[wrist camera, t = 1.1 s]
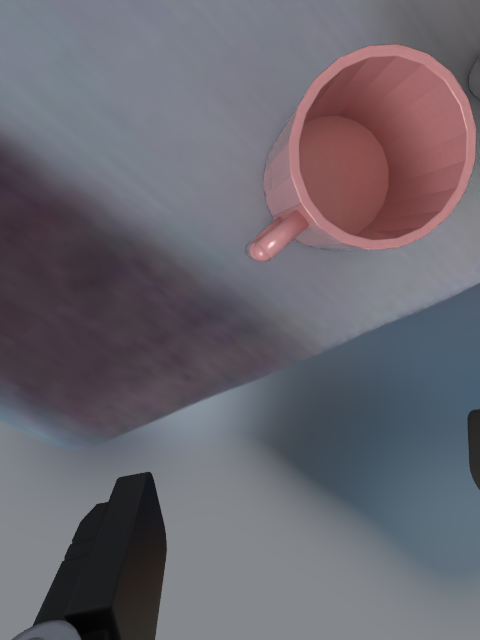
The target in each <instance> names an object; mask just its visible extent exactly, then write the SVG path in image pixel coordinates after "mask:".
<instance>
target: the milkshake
mask: <svg viewBox="0 0 480 640" xmlns="http://www.w3.org/2000/svg"><path fill="white" fill-rule="evenodd" d="M469 89H470V90H471V91H472V93H473V94H474V96H475V97H476V98H480V59H479V60H478V61H477V62H476V63H475V64H474V66H473V68H472V70H471V71H470V73H469Z"/></svg>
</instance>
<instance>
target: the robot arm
mask: <svg viewBox="0 0 480 640" xmlns="http://www.w3.org/2000/svg"><path fill="white" fill-rule="evenodd" d="M468 441H469V462H470V463H469V464H470V471H471V474H472V477H473V479H474V482H475V483H476V485H477V487H478V488H479V489H480V409H477V410H473V411H471V412H470V413H469V415H468ZM166 546H167V545H166V533H165V527H164V522H163V518H162V513H161V509H160V505H159V500H158V496H157V492H156V487H155V483H154V479H153V476H152V474H151V473H150V472H145V473H140V474H134V475H129V476H124V477H119V478H118V479H117V481H116V484H115V486H114V489H113V491H112V494H111V496H110V499H109V501H108V502H105V503H100V504H97V505H96V506H95V507H94V508H93V509H92V510H91V511H90V512H89V513H88V514H87V515H86V516H85V518H84V519H83V520H82V521H81V522H80V524H79V527H78V529H77V531H76V533H75V535H74V537H73V539H72V544H71V545H70V546H69V548H68V550H67V553H66V555H65V560H64V561H63V562H62V563H61V566H60V568H59V570H58V572H57V574H56V577H55V578H54V581H53V583H52V585H51V587H50V589H49V592H48V594H47V596H46V598H45V600H44V602H43V604H42V607H41V609H40V611H39V613H38V615H37V617H36V620H35V622H34V624H33V626H32V627H30V628H29V629H27V630H25V631H24V632H22V633H20V634H18V635H17V636H16V637H14V638H13V639H12V640H155V635H156V627H157V620H158V613H159V606H160V598H161V591H162V583H163V576H164V569H165V562H166V552H167V547H166Z"/></svg>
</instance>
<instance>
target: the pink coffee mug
mask: <svg viewBox="0 0 480 640" xmlns="http://www.w3.org/2000/svg"><path fill="white" fill-rule="evenodd" d="M475 129H476V126H475V122H474V119H473V115H472V111H471V107H470V103H469V100H468V97H467V96H466V94H465V93H464V91H463V89H462V88H461V86H460V85H459V83H458V82H457V80H456V78H455V77H454V75H453V74H452V73H451V72H450V71H449V70H448V69H447V68H445V67H444V66H443V65H442V64H440V63H439V62H438V61H437V60H435V59H434V58H433V57H432V56H430V55H429V54H427V53H425V52H421V51H418V50H415V49H412V48H409V47H406V46H403V45H398V44H393V45H374V46H366V47H364V48H361V49H359V50H357V51H354V52H352V53H350V54H347V55H345V56H342V57H340V58H339V59H337V60H336V61H335V62H334V63H332V64H331V65H330V66H329V67H328V68H327V69H326V70H325V71H323V72H322V73H321V74H320V75H319V76H318V77H317V78H316V79H315V80H314V81H313V82H312V84H311V85H310V87H309V89H308V90H307V92H306V93H305V95H304V97H303V98H302V100H301V101H300V103H299V104H298V106H297V108H296V109H295V111H294V112H293V114H292V116H291V117H290V119H289V120H288V122H287V124H286V125H285V127H284V128H283V130H282V132H281V133H280V135H279V137H278V138H277V140H276V142H275V143H274V145H273V147H272V148H271V150H270V152H269V156H268V158H267V162H266V165H265V171H264V194H265V198H266V203H267V205H268V208H269V211H270V213H271V215H272V216H273V218H274V221H273V222H272V223H271V224H270V225H269V226H267V227H266V228H265V229H264V230H263V231H262V232H261V233H259V234H258V235H257V236H256V237H255V238H254V239H253V240H251V241H250V242H249V243H248V244H247V245H246V248H245V252H246V255H247V256H248V257H249V258H252V259H255V260H259V261H262V262H266V261H269V260H270V259H272V258H273V257H274V256H275V255H276V254H278V253H279V252H280V251H281V250H282V249H283V248H285V247H286V246H287V245H288V244H289V243H290V242H291V241H293V240H294V239H295V240H296V241H298V242H300V243H302V244H305V245H308V246H311V247H317V248H321V249H351V250H377V249H389V248H398V247H401V246H404V245H406V244H408V243H411V242H413V241H416V240H418V239H420V238H423V237H424V236H426V235H427V234H429V233H430V232H431V231H432V230H433V229H435V228H436V227H437V226H438V225H439V224H441V223H442V222H443V221H444V220H445V219H446V218H447V217H448V216H449V215H450V214H451V212H452V211H453V209H454V208H455V206H456V205H457V203H458V202H459V200H460V199H461V197H462V196H463V194H464V193H465V190H466V188H467V185H468V182H469V179H470V176H471V172H472V169H473V166H474V163H475V151H476V130H475Z"/></svg>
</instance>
